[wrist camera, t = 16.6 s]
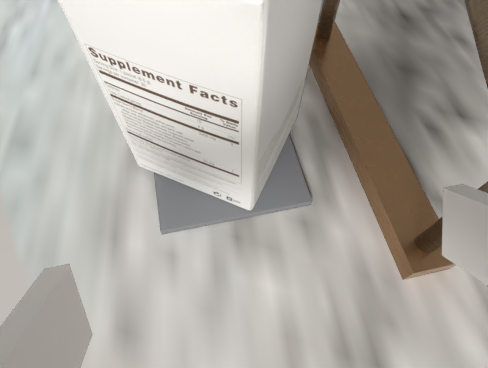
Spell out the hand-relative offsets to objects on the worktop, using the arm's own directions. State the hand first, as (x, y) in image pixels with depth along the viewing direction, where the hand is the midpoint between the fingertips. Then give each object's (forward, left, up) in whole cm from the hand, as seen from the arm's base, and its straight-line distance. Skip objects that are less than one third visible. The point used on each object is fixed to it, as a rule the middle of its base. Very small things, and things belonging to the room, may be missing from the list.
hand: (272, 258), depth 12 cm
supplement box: (0, -12, -9) cm, 15 cm away
